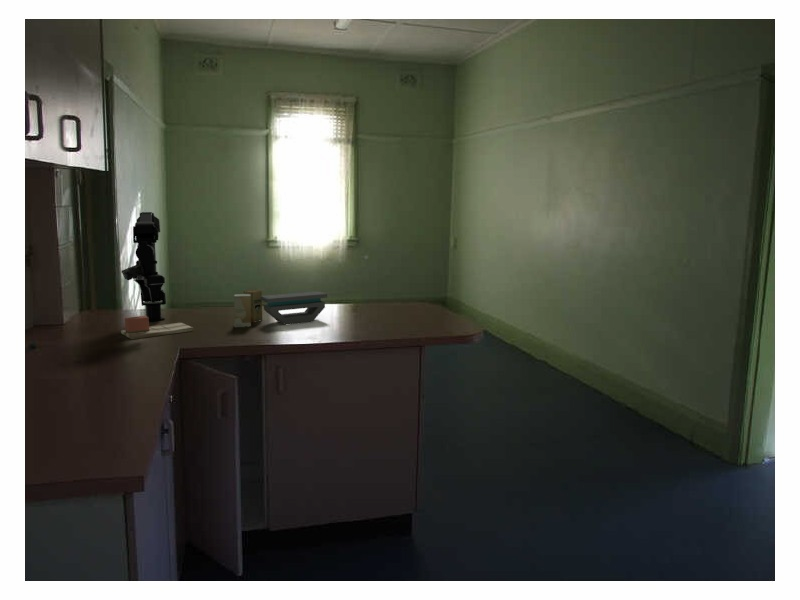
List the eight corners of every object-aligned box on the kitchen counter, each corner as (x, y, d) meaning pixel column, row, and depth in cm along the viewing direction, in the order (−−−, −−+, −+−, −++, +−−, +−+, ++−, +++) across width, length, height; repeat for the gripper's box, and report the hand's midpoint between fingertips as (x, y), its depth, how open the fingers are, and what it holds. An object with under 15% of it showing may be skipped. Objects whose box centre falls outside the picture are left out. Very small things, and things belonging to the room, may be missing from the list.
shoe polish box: (244, 321, 244) (243, 291, 242) (252, 319, 248) (251, 290, 246) (254, 322, 242) (253, 292, 240) (262, 320, 246) (261, 290, 244)
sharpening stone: (268, 326, 234) (267, 298, 232) (261, 323, 241) (260, 296, 239) (327, 320, 247) (327, 293, 245) (319, 317, 254) (319, 291, 252)
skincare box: (234, 327, 232) (233, 296, 230) (234, 325, 236) (233, 294, 234) (251, 326, 234) (250, 295, 232) (251, 324, 238) (250, 293, 236)
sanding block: (125, 331, 218) (124, 318, 217) (145, 329, 223) (144, 315, 222) (129, 333, 215) (128, 319, 214) (149, 330, 220) (148, 317, 219)
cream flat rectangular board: (120, 333, 221) (120, 330, 221) (181, 325, 235) (180, 322, 235) (131, 339, 212) (131, 335, 212) (193, 330, 226) (193, 327, 226)
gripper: (115, 256, 222) (118, 298, 225) (131, 262, 208) (134, 307, 211) (147, 254, 229) (149, 295, 232) (164, 260, 215) (166, 303, 218)
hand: (149, 300), depth 223 cm, fingers open, 9 cm apart
